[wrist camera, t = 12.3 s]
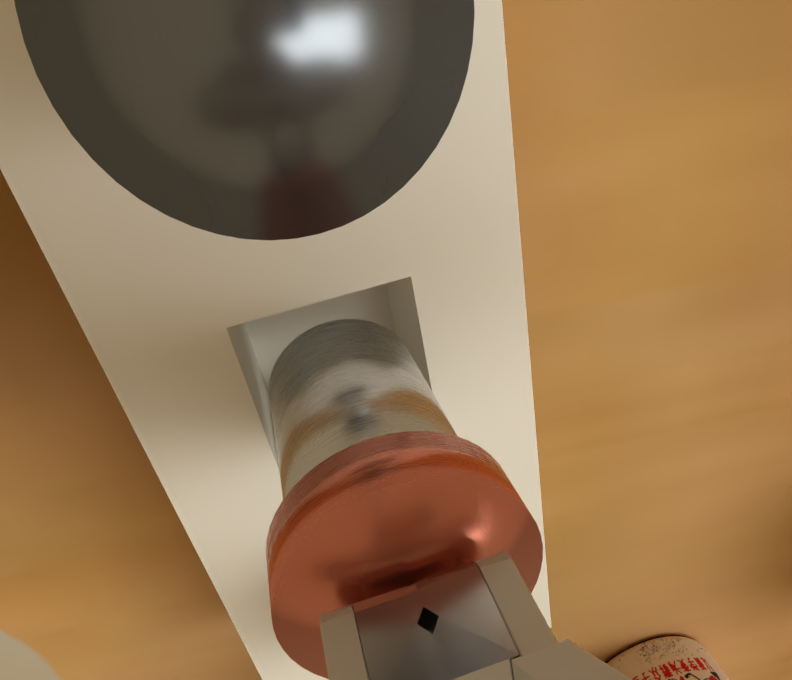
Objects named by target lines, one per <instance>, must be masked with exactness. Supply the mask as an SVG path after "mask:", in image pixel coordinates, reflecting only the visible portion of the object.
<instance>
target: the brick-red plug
mask: <svg viewBox="0 0 792 680" xmlns="http://www.w3.org/2000/svg"><path fill="white" fill-rule="evenodd" d="M269 399H270V406H271V413H272V421H273V428H274V436H275V443H276V450H277V458H278V465H279V473H280V480H281V487H282V495H283V501H282V502H281V504H280V506H279V508H278V509H277V511H276V513H275V515H274V517H273V520H272V522H271V525H270V527H269V532H268V536H267V540H266V562H267V573H268V584H269V596H270V607H271V617H272V625H273V629H274V632H275V635H276V638H277V640H278V642H279V644H280V645H281V647H282V649H283V650H284V651H285V653H286V654H287V655H288V656H289V657H290V658H291V659H292V660H293V661H294V662H296V663H297V664H298V665H300V666H301V667H302V668H304V669H306V670H308V671H310V672H311V673H313V674H316V675H319V676H321V677H324V678H327V679H328V672H327V666H326V660H325V654H324V648H323V642H322V636H321V630H320V615H321V614H324V613H327V612H330V611H333V610H336V609H339V608H341V607H344V606H347V605H350V604H353V603H357V602H360V601H363V600H366V599H369V598H372V597H375V596H379V595H382V594H385V593H388V592H391V591H394V590H397V589H400V588H404V587H407V586H410V585H413V584H414V582H417V581H420V580H423V579H425V578H428V577H431V576H434V575H436V574H439V573H442V572H444V571H447V570H450V569H453V568H455V567H458V566H461V565H464V564H466V563H469V562H472V561H473V562H475V561H477V560H480V559H483V558H486V557H489V556H491V555H494V554H497V553H500V552H502V551H505V552H506V553H508V554H509V555H510V556H511V558H512V560H513V562H514V564H515V565H516V567H517V569H518V571H519V573H520V574H521V576H522V578H523V580H524V582H525V584H526V585H527V587H528V589H529V591H530V593H532V591H533V589H534V587H535V585H536V583H537V580H538V577H539V574H540V571H541V566H542V560H543V544H542V538H541V533H540V531H539V528H538V526H537V523H536V521H535V520H534V518H533V517H532V515H531V513H530V512H529V510H528V509H527V507H526V506H525V504H524V502H523V501H522V499H521V498H520V496H519V494H518V493H517V491H516V490H515V488H514V486H513V485H512V483H511V482H510V480H509V479H508V477H507V475H506V474H505V472H504V471H503V469H502V467H501V466H500V464H499V463H498V462H497V461H496V460H495V459H494V458H493V457H492V456H491V454H489V453H488V452H487V451H485V450H484V449H483V448H481V447H480V446H478V445H476V444H474V443H472V442H470V441H469V440H466V439H463V438H460V437H458V436H457V434H456V433H455V431H454V429H453V427H452V426H451V424H450V422H449V420H448V419H447V417H446V415H445V413H444V412H443V410H442V408H441V406H440V405H439V403H438V401H437V399H436V398H435V396H434V394H433V392H432V391H431V389H430V387H429V385H428V384H427V382H426V380H425V378H424V377H423V375H422V373H421V371H420V370H419V368H418V366H417V364H416V363H415V361H414V359H413V357H412V356H411V354H410V352H409V350H408V349H407V347H406V346H405V344H404V343H403V342H402V340H401V339H400V338H399V337H398V336H397V335H395V334H394V333H393V332H392V331H390V330H389V329H387V328H385V327H383V326H381V325H379V324H376V323H373V322H370V321H366V320H359V319H341V320H334V321H330V322H326V323H323V324H320V325H317V326H315V327H313V328H311V329H309V330H307V331H305V332H304V333H302V334H300V335H299V336H298V337H296V338H295V339H294V340H293V341H292V342H291V343H290V344H289V345H288V346H287V347H286V348H285V349H284V350H283V352H282V353H281V354H280V356H279V357H278V359H277V361H276V363H275V364H274V367H273V370H272V372H271V376H270V381H269Z"/></svg>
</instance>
